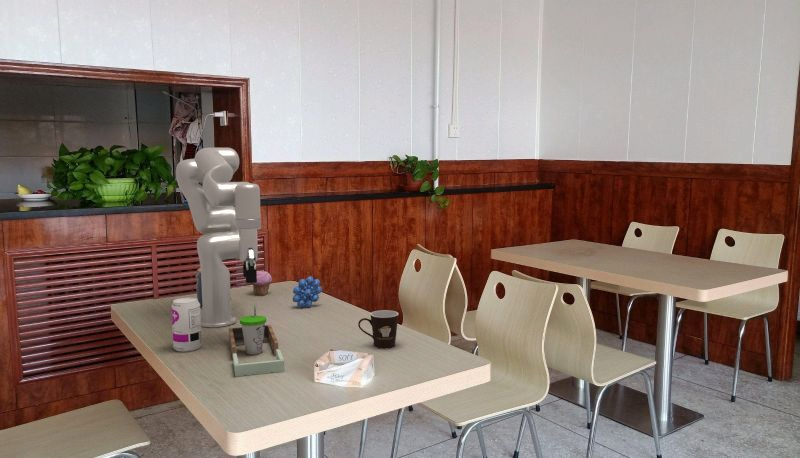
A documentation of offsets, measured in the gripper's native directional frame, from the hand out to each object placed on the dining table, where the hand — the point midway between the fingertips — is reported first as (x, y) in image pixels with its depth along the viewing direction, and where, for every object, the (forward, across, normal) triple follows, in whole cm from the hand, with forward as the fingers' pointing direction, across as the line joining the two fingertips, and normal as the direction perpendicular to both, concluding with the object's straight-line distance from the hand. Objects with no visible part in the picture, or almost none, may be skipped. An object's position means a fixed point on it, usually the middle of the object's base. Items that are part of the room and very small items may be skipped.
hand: (250, 279), depth 193 cm
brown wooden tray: (+20, +6, 0) cm, 21 cm away
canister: (+21, -55, -9) cm, 59 cm away
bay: (+20, +24, 0) cm, 31 cm away
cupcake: (+21, -67, +10) cm, 70 cm away
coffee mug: (+20, +15, +37) cm, 45 cm away
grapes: (+20, -39, +24) cm, 51 cm away
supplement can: (+20, -1, -19) cm, 28 cm away
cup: (+20, +10, 0) cm, 23 cm away
